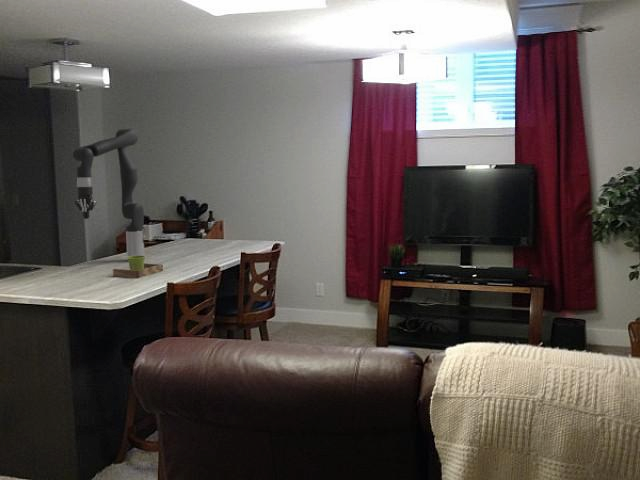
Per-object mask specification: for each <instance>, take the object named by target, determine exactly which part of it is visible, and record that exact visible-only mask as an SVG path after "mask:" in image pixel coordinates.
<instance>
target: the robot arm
mask: <svg viewBox="0 0 640 480" xmlns="http://www.w3.org/2000/svg"><path fill="white" fill-rule="evenodd" d="M138 139H139V136H138V133H137V131H136V130H134V129H132V128H129V129H128V128H125V129H124V128H123V129H118V130H117V131H116V133H115V137H111V138H106V139H103V140H99V141H96V142H94V143H91V144H89V145H84V146H80V147H77V148H76V149H74V151H73V153H72V158H74V160H75V161H77V162H81V164H80V165H79V166H78V167H76V192H77V195H78V196H77V200H74V204H75V205H76V207H77V208H78V210H79V211H81V212H82V216H83V220H85V219H86V220H88V219H89V218H90V212H91V211H93V209H94V208H95V206H96V205H97V201H96V200H94V199H93V193H94V191H93V180H92V167H93V162H94V158H95V157H100V156H102V155H104V154H107V153H109V152H111V151H114V150H116V149H117V155H118V160H119V161H118V162H119V174H120V184H121V212H122V216H123V218H125V219H127V220H131V222H130V224H129V225H126V227H125V236H126V237H125V238H126V260H127V262H129V261H128V259H127V257H129V256H145V243H144V234H143V233H144V232H143V230H144V229H143V227H144V222H145V220H144V219H145V217H144V216H145V215H144V213H145V212H144V207H143V205H142V204H141V203H137V202H135V203H133V193H134V190H135V188H136V186H137V183H138V169H137V167H136V165H135V162H134V161H133V159H132V157H131V154H130V147H129V146H133V145H135V144H136V143H138Z"/></svg>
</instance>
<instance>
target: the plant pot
mask: <svg viewBox="0 0 640 480" xmlns="http://www.w3.org/2000/svg"><path fill="white" fill-rule="evenodd" d="M146 257H147V256H146V255H144V256H129V257H127V256H126V260H127V259H128V261H127V262H128V266H129V270H142V269H144V263H145V260H146Z"/></svg>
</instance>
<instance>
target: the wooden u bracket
mask: <svg viewBox="0 0 640 480" xmlns="http://www.w3.org/2000/svg"><path fill="white" fill-rule="evenodd" d="M163 268H164V266H163V264H159V263H145V262H144V269H142V270H130V269H122V268H121V269H120V268H113V269H112V275H113V277H121V278H134V279H140V278H144V277H147V275H148V276H151V275H155V274H158V273H161V271H162V272H163V270H164V269H163ZM157 272H158V273H157ZM154 273H155V274H154ZM150 274H151V275H150ZM143 276H144V277H143Z"/></svg>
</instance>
